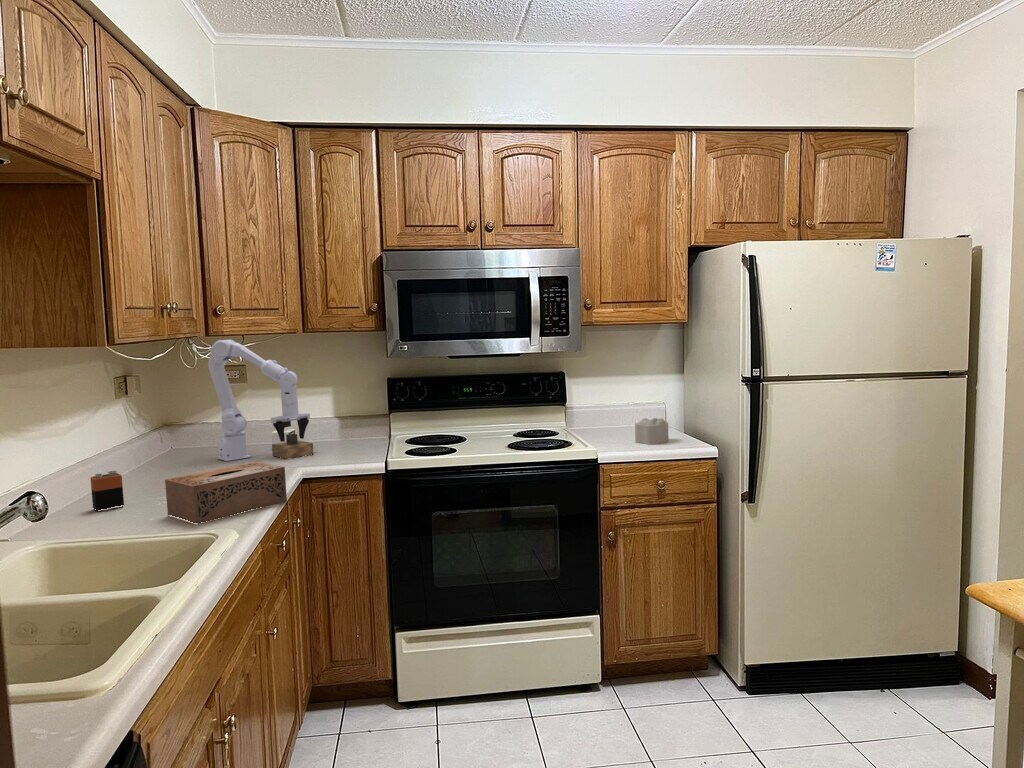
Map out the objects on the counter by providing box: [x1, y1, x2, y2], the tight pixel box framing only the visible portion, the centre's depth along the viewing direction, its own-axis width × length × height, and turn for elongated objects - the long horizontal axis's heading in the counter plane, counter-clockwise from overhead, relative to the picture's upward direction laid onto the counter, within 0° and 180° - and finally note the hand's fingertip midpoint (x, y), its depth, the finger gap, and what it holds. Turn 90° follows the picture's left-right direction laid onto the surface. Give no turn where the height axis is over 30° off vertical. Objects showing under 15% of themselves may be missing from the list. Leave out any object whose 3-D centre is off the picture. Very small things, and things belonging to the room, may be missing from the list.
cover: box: [271, 433, 314, 460], centre depth 262 cm, size 11×11×8 cm
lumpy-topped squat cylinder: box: [634, 417, 669, 446], centre depth 265 cm, size 10×13×9 cm
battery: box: [89, 470, 125, 511], centre depth 191 cm, size 4×7×10 cm, turn 133°
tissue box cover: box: [164, 461, 288, 523], centre depth 186 cm, size 26×14×10 cm, turn 142°
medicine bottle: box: [271, 419, 296, 445], centre depth 278 cm, size 7×7×12 cm
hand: (292, 439), depth 261 cm, fingers open, 7 cm apart
